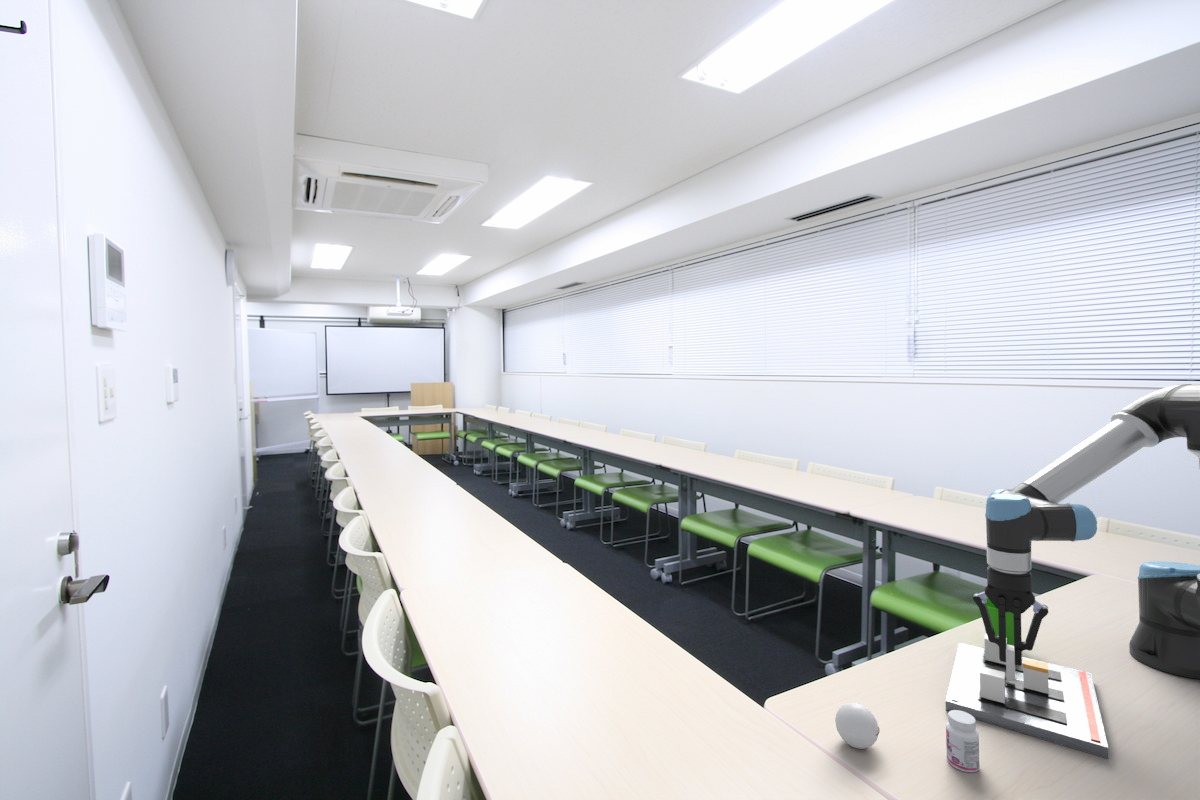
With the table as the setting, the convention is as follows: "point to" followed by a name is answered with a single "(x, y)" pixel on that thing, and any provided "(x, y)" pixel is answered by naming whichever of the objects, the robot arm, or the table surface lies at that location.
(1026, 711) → the panel
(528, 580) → the table surface
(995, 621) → the cup
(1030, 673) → the block
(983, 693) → the block
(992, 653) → the block
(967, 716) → the pill bottle
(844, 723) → the white oval ovoid
